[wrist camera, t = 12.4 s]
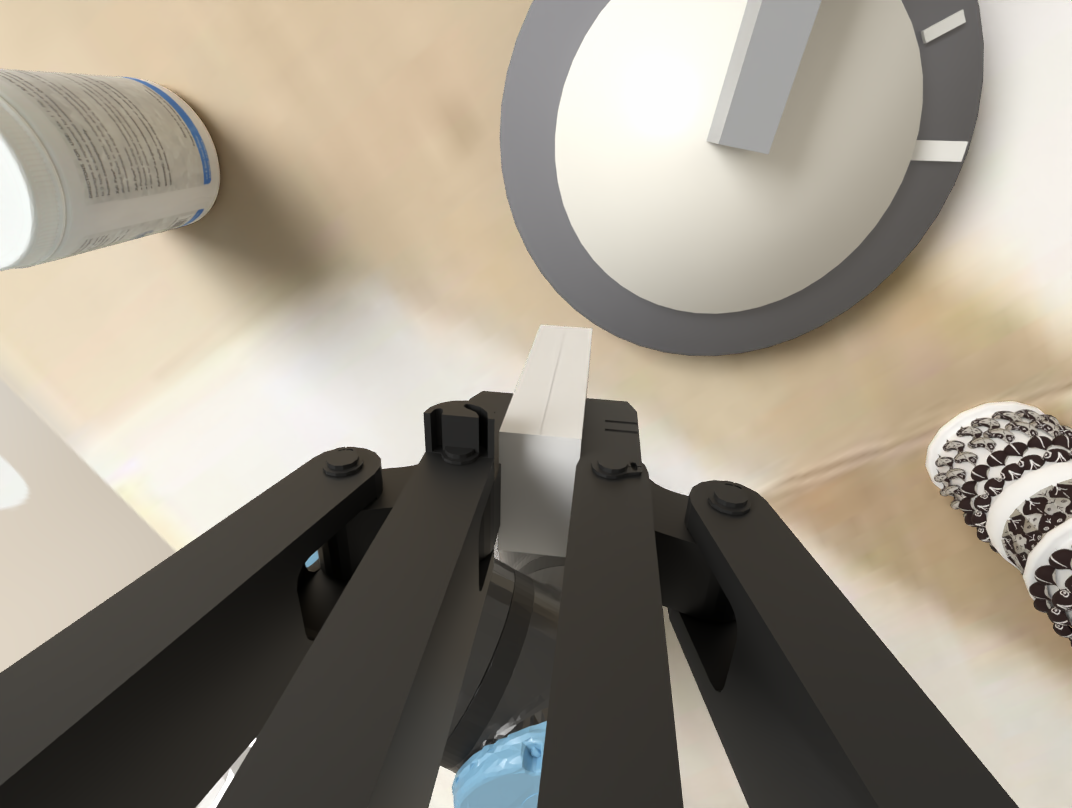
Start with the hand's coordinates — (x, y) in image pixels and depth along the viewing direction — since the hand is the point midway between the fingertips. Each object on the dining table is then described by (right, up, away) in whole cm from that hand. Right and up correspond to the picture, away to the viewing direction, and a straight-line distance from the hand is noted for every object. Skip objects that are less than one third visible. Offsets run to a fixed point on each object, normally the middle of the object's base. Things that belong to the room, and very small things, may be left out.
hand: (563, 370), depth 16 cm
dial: (+10, +16, +14) cm, 24 cm away
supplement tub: (-27, +17, +24) cm, 40 cm away
